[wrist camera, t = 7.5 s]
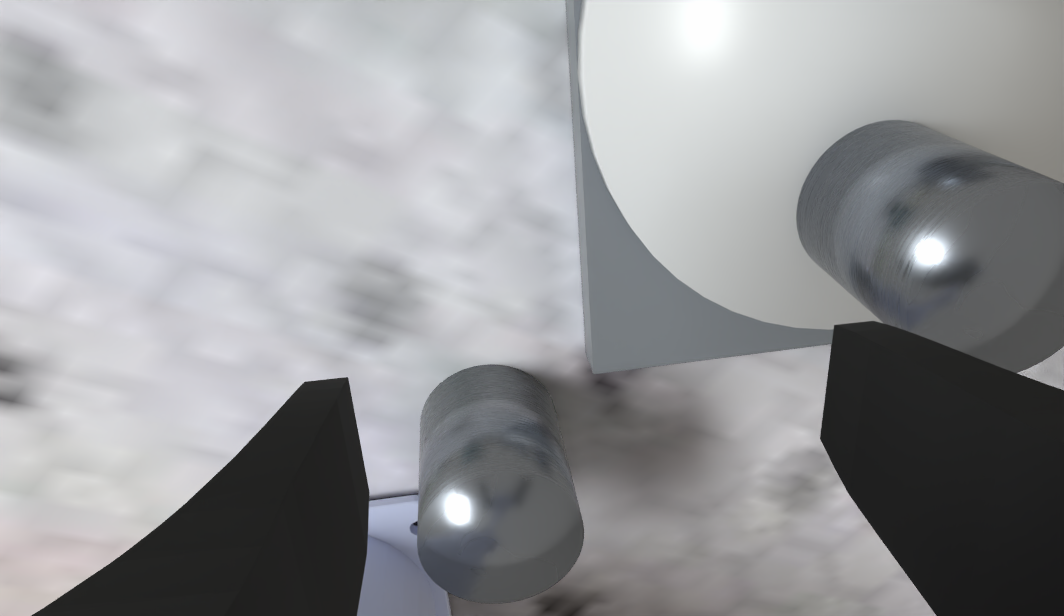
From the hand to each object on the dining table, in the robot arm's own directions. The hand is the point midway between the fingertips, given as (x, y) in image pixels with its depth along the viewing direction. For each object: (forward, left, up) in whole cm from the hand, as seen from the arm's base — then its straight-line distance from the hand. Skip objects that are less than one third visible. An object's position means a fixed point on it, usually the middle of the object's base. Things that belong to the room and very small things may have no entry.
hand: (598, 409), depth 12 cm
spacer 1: (-7, +2, -10) cm, 12 cm away
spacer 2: (0, -8, -8) cm, 11 cm away
